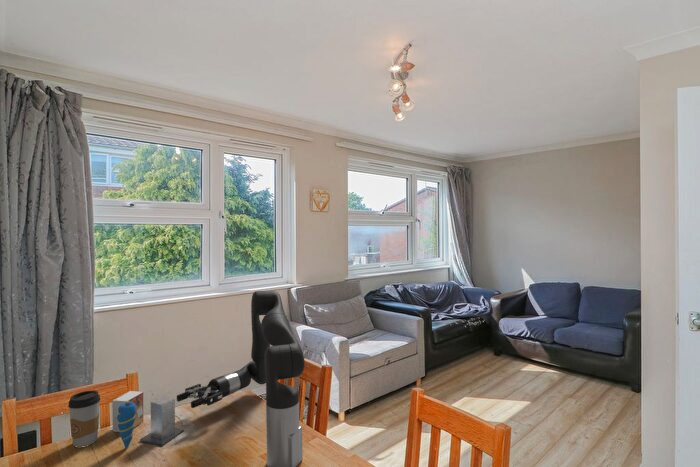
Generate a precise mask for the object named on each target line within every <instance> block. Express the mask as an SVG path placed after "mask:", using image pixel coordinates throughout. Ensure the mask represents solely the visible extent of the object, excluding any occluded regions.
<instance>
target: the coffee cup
mask: <svg viewBox="0 0 700 467" xmlns="http://www.w3.org/2000/svg"><path fill="white" fill-rule="evenodd" d="M100 401H101V395H100V394H99V391H98V390H86V391H80V392H77V393H75V394H73V395H71V396H70V399H69V401H68V405H67V406H68V410H69V418H70V419H69V422H70V432H71V439H72V445H73V447H74V446H77V447H82V446H87V445H90V444H92V443H93V444H95V443H96V442H97V440H98V437H99V436H98V434H99V424H100V423H99V422H100V421H99V420H100ZM95 441H96V442H95ZM94 442H95V443H94ZM93 444H92V445H93ZM90 446H91V445H90ZM87 447H88V446H87Z"/></svg>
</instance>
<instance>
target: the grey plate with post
mask: <svg viewBox="0 0 700 467" xmlns="http://www.w3.org/2000/svg"><path fill="white" fill-rule="evenodd" d="M184 432H185V430H184V429H182V428H176V427H175V432H174V433H172V434H171V435H169V436H167V437H165V438H164V439H158V438H155V437H152V436H151V432H149V433H148V434H146V435H144V436H143V437H142V438H140V439H139V443H144V444H149V445H154V446H159V447H163V446H165V445H167V444H168V443H170V442H171V441H173V440H174V439H176V438H177V437H179V436H180V435H182V434H183V433H184Z"/></svg>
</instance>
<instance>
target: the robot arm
mask: <svg viewBox="0 0 700 467" xmlns="http://www.w3.org/2000/svg"><path fill="white" fill-rule="evenodd" d="M283 306H284V305H283V302H282V297H281V295H280V293H279V292H278V291H275V290H257V291H254V292H253V293H252V295H251V304H250V307H251V308H250V309H251V311H250V313H251V315H250V316H251V319H250V320H251V336H252V337H251V339H252V340H251V341H252V342H251V351H250V352H251V353H250V354H251V355H250V356H251V358H250V359H251V361H249V362H248V363H247V364H246V365H244V366H242V368H240V369H239V370H235V371H234V372H233V371H232V372H230V373H225V374H223V375H221V376H218V377H214V378H212V379H211V380H209V382H208V383H207V385H203V386H202V384H201V383H197V384H195V385H192V386H189V387H186V388H185V389H184V392H182V393H179V394H177V395H176V401H177V402H179V403H180V402H182V401H185V400H187V399H191V398H193V399H194V400H191V401H190V408H191V409H195V408H197V407H199V406H202V405H203V406H205V405H206V406H211V405H214V404H216V403H218V402H219V401H222V400H223V398H225V397H228V396H230V395H232V394H235V393H236V392H238V391H240V390H243V389H245V388H247V387H249V385H250V384H251V382H252V381H254V382H255V383H257V384H258V385H265V398H266V399H265V400H266V402H265V404H266V405H265V407H266V410H265V411H266V413H265V414H266V420H265V423H266V465H267V467H298V465H299V464H300V463H301V461H302V460H303V454H304V453H303V452H304V451H303V426H301V425H300V393H299V390H298V389H297V388H296V387H294V386H291V385H286V384H283V383H281V382H279V380H285V379H294V378H297V377H300V376H301V375H302V374H303V372H305V367H306V366H305V365H306V364H305V355H304V352H303V350H302V348H301V346H300V343H299V342H298V341H297V339H296V337H295V336H294V333H293V331H292V328H291V325H290V321H289V319H288V316H287V314H286V313H285V310H284V307H283ZM260 316H263V318H262V320H261V318H260Z"/></svg>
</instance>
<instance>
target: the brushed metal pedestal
mask: <svg viewBox="0 0 700 467" xmlns="http://www.w3.org/2000/svg"><path fill="white" fill-rule="evenodd" d="M175 409H176V399H175V397H170V396H166V395H162V396H160V397H158V398H155V399H154V400H151V401H150V433H151V436H152V437H155V438H158V439H164V438H165V437H167V436H169V435H171V434H172V433H174V432H175V428H176V410H175Z"/></svg>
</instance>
